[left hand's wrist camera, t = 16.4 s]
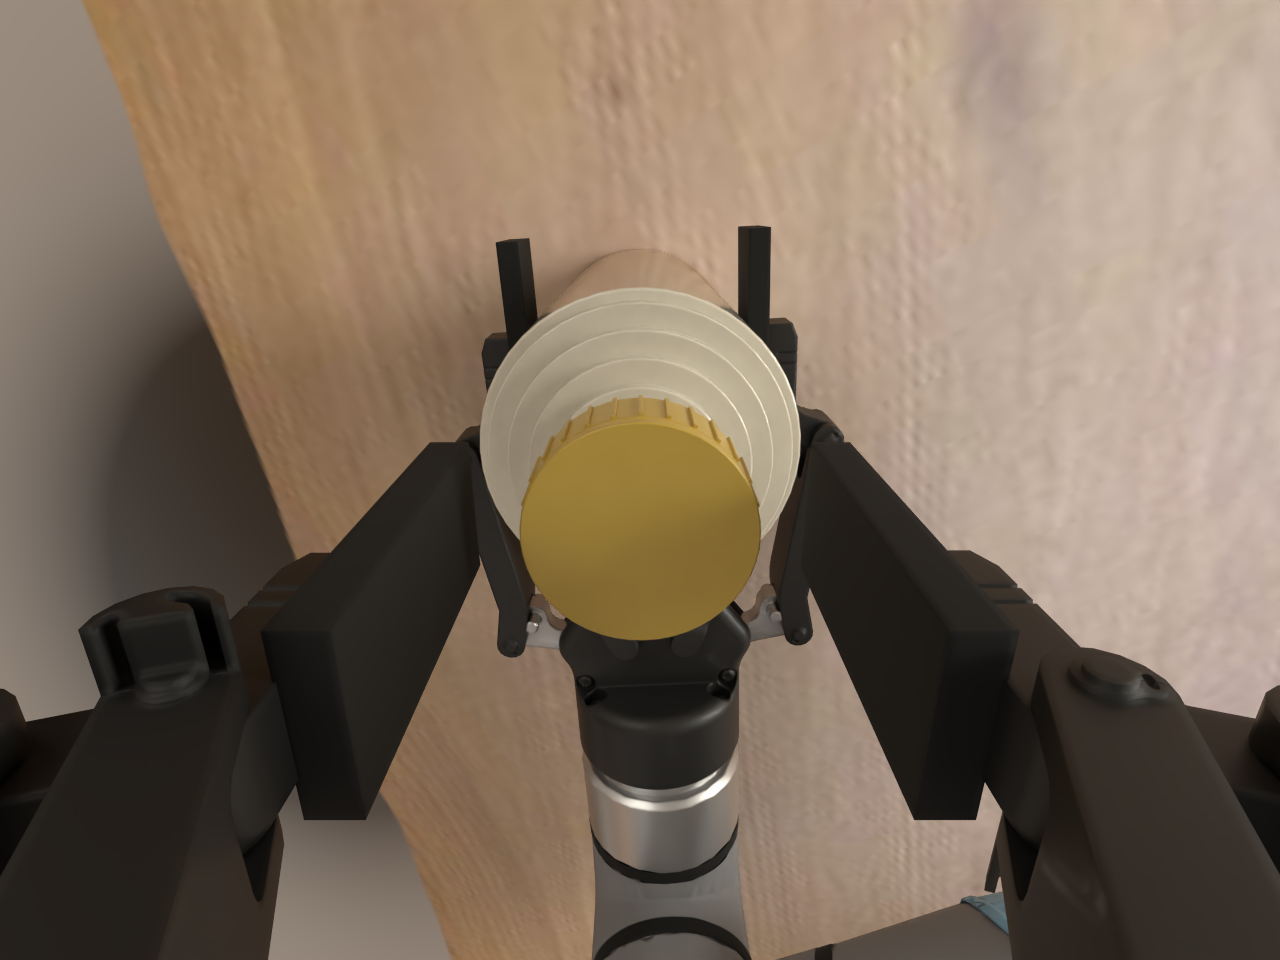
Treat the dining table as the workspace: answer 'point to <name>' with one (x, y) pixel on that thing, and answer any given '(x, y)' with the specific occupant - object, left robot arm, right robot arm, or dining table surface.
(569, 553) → the cap
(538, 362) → the bottle
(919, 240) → the dining table surface
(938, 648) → the left robot arm
